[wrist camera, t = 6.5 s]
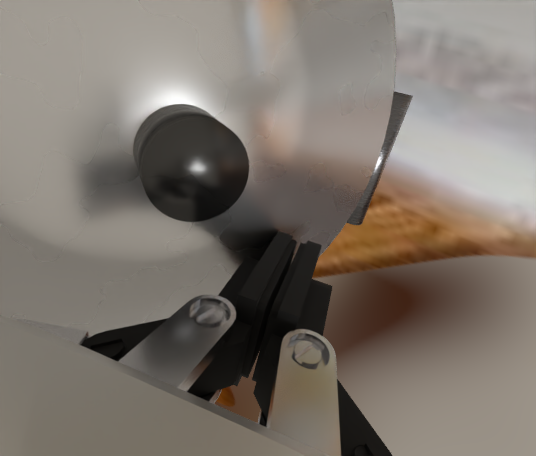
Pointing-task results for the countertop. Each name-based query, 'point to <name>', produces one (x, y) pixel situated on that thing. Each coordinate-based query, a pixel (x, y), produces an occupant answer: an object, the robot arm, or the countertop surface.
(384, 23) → the lid
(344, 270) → the countertop surface
